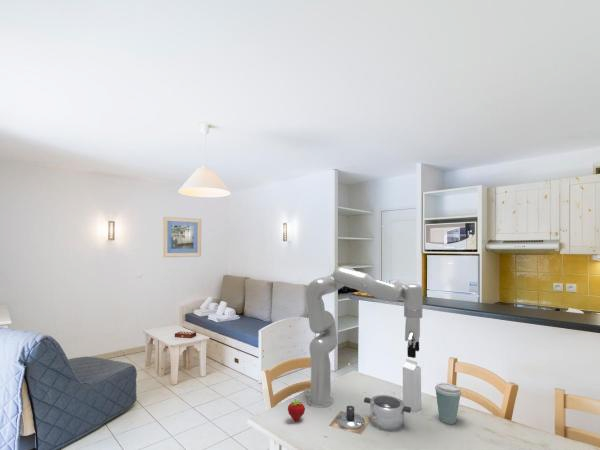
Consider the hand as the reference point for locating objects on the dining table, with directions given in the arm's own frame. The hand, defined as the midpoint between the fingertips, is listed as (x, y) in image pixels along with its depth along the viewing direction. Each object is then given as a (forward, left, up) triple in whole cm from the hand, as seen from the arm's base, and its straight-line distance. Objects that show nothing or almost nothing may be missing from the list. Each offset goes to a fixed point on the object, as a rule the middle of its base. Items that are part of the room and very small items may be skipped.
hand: (413, 353), depth 144 cm
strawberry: (-46, -20, -30) cm, 58 cm away
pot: (-11, -3, -30) cm, 32 cm away
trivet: (-25, -10, -30) cm, 40 cm away
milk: (-4, +17, -30) cm, 35 cm away
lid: (-25, -10, -30) cm, 40 cm away
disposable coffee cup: (+12, +13, -30) cm, 35 cm away
